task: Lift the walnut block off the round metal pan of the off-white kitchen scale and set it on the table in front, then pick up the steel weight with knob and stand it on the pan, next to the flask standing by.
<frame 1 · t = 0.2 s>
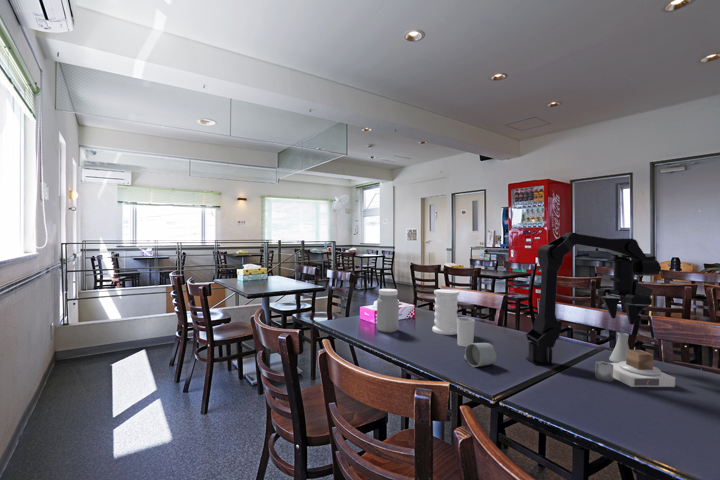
hand: (622, 321, 120), 14 cm above the table, tool pointing down, fingers open, 9 cm apart
jar: (387, 330, 158), on the table
drinking glass: (465, 345, 139), on the table
flask: (621, 363, 122), on the table
kitchen scale: (635, 378, 107), on the table
walnut block: (639, 367, 107), point 3 cm above the table, touching kitchen scale
decorative container: (445, 331, 158), on the table
steel weight with knob: (603, 378, 107), on the table
ceramic mug: (477, 364, 118), on the table
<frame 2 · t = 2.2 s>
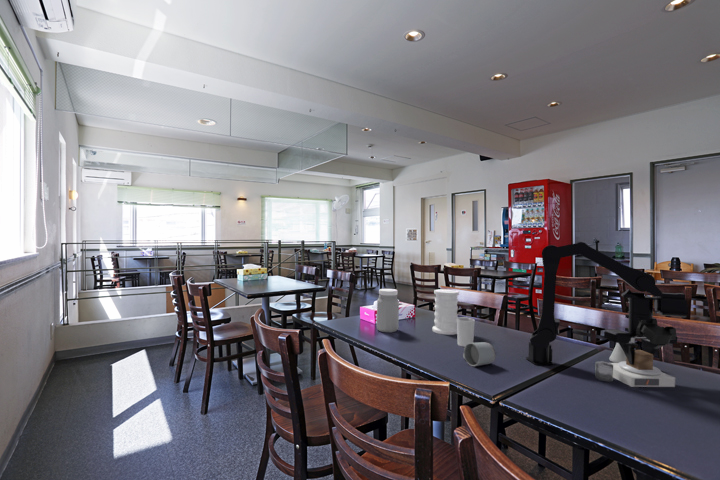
hand: (639, 364, 107), 4 cm above the table, tool pointing down, fingers closed on walnut block, 4 cm apart
walnut block: (639, 366, 107), point 4 cm above the table, touching gripper, kitchen scale
when the fingers open (2 cm above the table, at t = 6.1 s): walnut block drops 2 cm, on the table.
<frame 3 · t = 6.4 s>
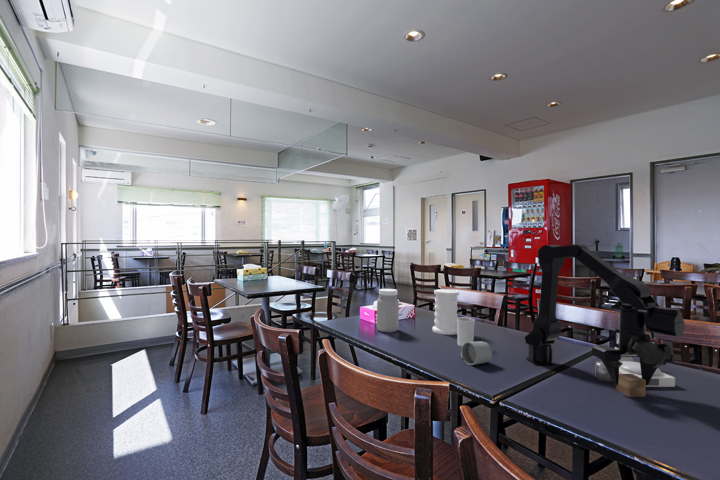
hand: (630, 384, 97), 2 cm above the table, tool pointing down, fingers open, 8 cm apart
walnut block: (630, 393, 97), on the table
ceramic mug: (473, 362, 119), on the table
everything else where it was.
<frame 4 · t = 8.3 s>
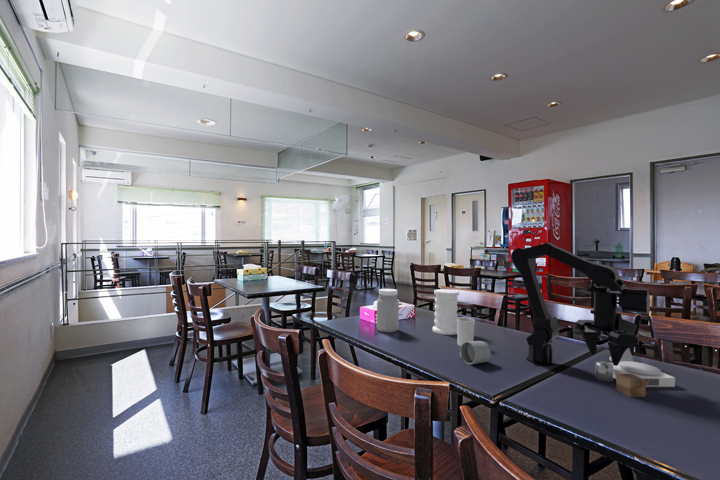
hand: (603, 360, 107), 6 cm above the table, tool pointing down, fingers open, 9 cm apart
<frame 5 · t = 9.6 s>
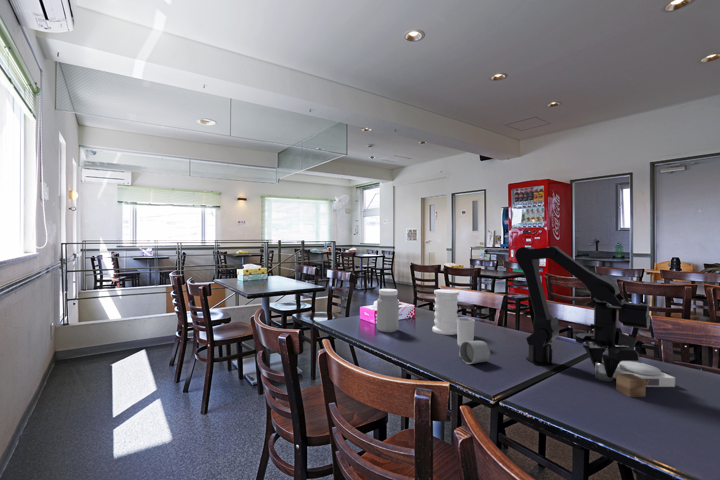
hand: (603, 374, 107), 1 cm above the table, tool pointing down, fingers closed on steel weight with knob, 4 cm apart
steel weight with knob: (603, 378, 107), on the table, touching gripper
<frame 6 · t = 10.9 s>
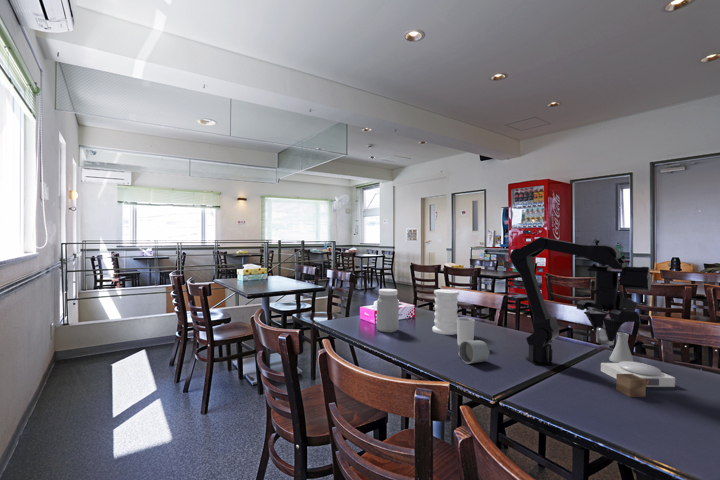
hand: (605, 338, 107), 12 cm above the table, tool pointing down, fingers closed on steel weight with knob, 4 cm apart
steel weight with knob: (605, 343, 107), point 11 cm above the table, touching gripper
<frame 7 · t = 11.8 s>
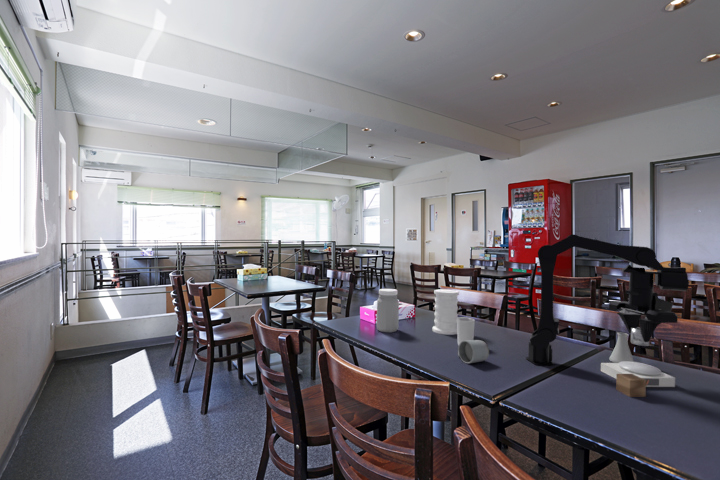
hand: (639, 339, 107), 12 cm above the table, tool pointing down, fingers closed on steel weight with knob, 4 cm apart
steel weight with knob: (639, 343, 107), point 11 cm above the table, touching gripper
when the fingers open (6 cm above the table, at t = 13.5 s): steel weight with knob stays where it is, resting on kitchen scale.
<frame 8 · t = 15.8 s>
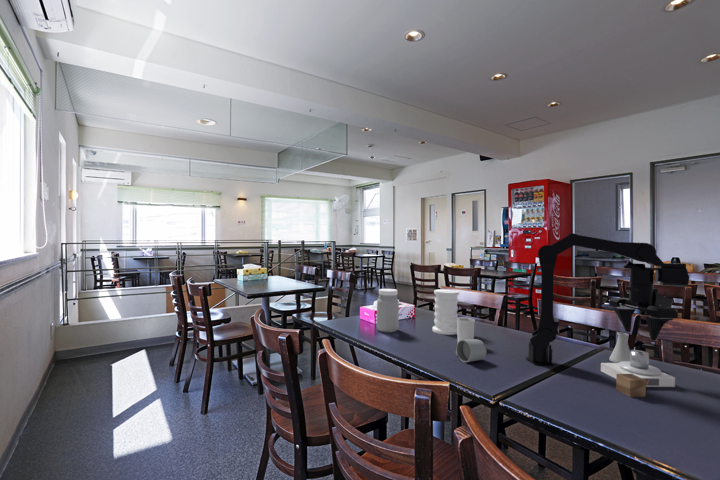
hand: (640, 335, 107), 13 cm above the table, tool pointing down, fingers open, 9 cm apart
steel weight with knob: (639, 367, 107), point 3 cm above the table, touching kitchen scale
ceramic mug: (468, 360, 122), on the table
everything else where it was.
at the end: steel weight with knob inside the target area on the kitchen scale (0.0 cm from its centre), point 3.5 cm above the kitchen scale's base; steel weight with knob tilted 0°; walnut block on the table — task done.
